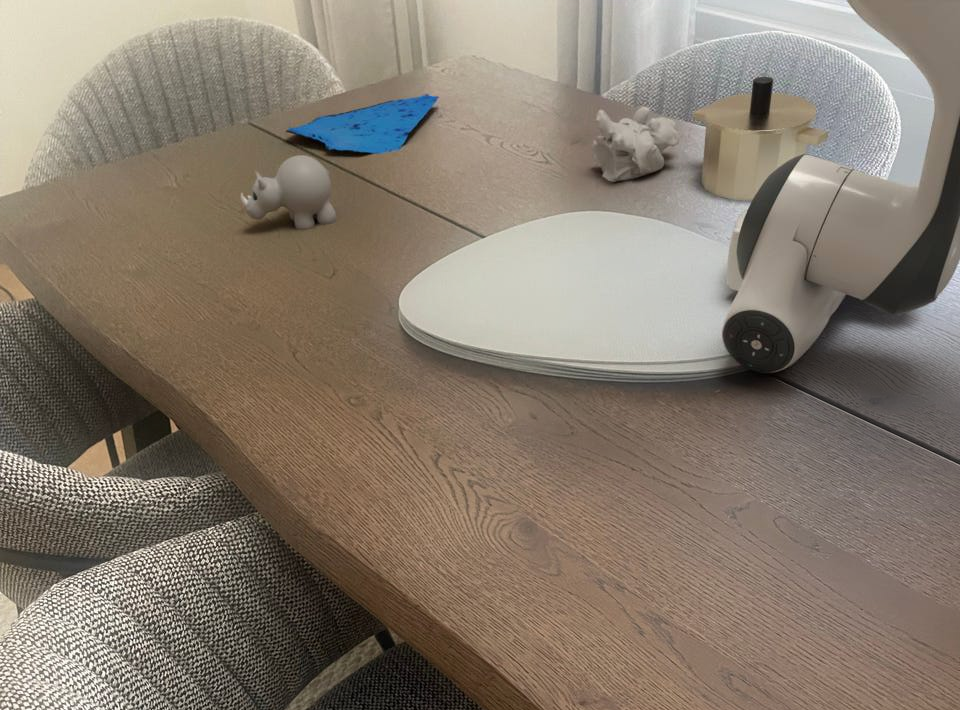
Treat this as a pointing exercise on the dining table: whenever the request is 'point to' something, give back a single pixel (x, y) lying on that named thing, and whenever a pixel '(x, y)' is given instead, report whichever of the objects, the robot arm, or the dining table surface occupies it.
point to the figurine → (632, 145)
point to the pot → (749, 157)
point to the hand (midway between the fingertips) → (848, 217)
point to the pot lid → (760, 111)
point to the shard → (369, 126)
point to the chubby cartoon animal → (294, 193)
